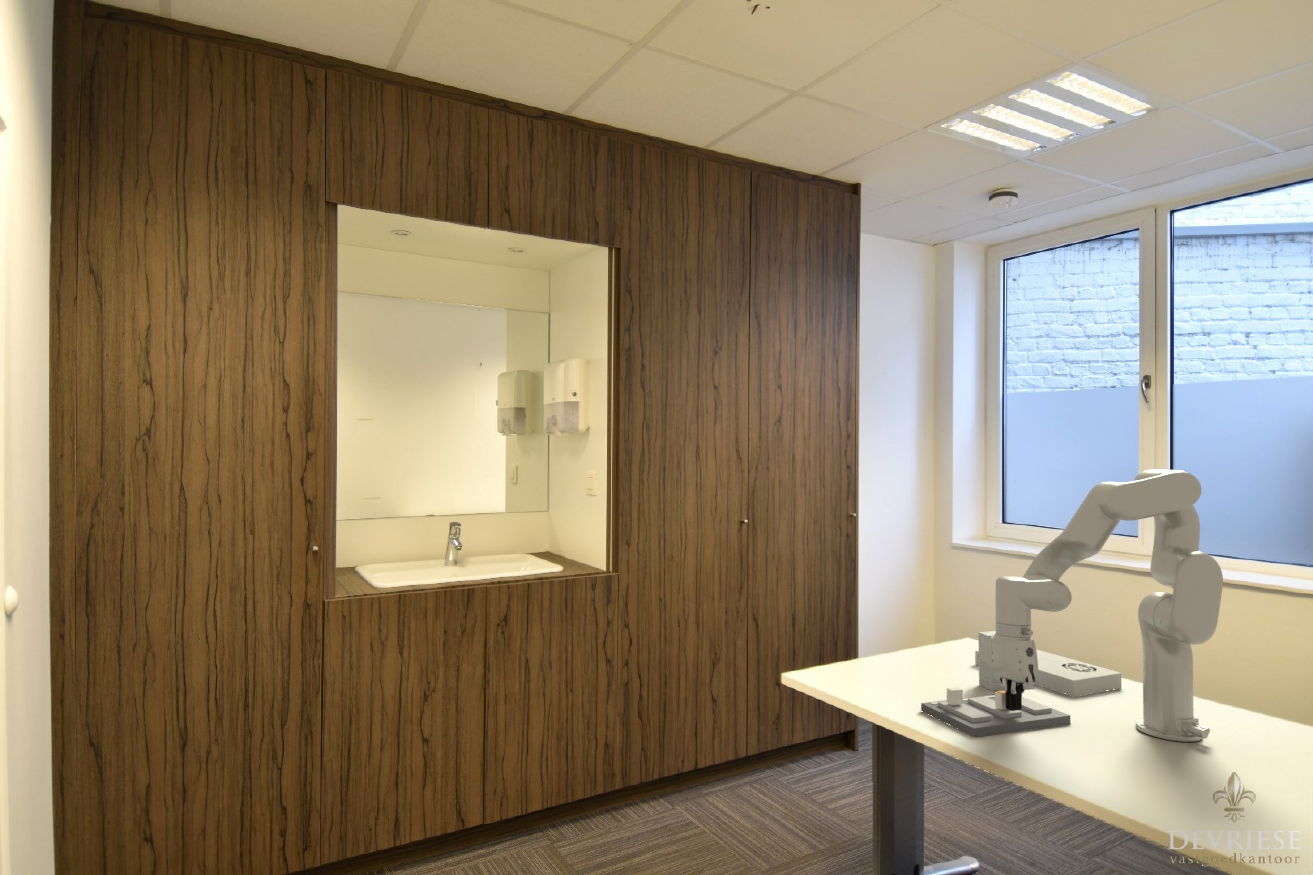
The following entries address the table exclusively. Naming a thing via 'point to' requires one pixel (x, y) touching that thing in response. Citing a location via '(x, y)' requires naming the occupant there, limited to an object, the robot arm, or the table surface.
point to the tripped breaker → (1000, 699)
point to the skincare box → (987, 662)
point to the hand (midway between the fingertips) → (1013, 709)
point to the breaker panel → (994, 716)
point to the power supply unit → (1072, 675)
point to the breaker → (954, 696)
